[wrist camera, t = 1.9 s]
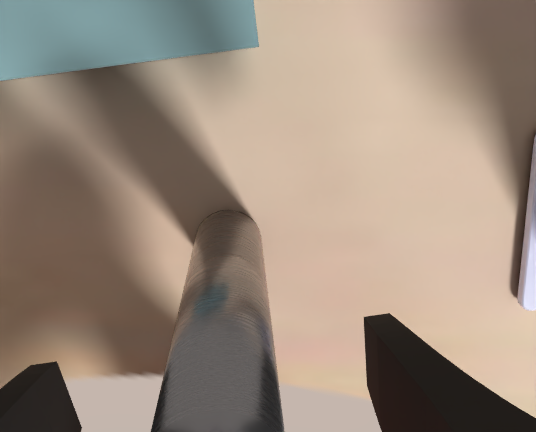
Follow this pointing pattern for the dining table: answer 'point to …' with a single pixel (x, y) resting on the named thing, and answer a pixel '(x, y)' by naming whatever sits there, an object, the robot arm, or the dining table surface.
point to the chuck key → (222, 337)
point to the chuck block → (116, 32)
